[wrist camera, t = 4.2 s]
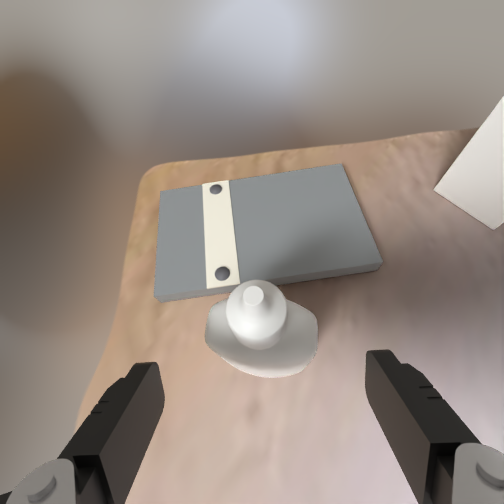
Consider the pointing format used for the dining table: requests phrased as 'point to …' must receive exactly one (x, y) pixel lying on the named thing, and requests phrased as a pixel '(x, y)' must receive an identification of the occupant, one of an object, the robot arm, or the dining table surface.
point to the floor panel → (260, 233)
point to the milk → (480, 173)
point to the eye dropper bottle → (262, 331)
